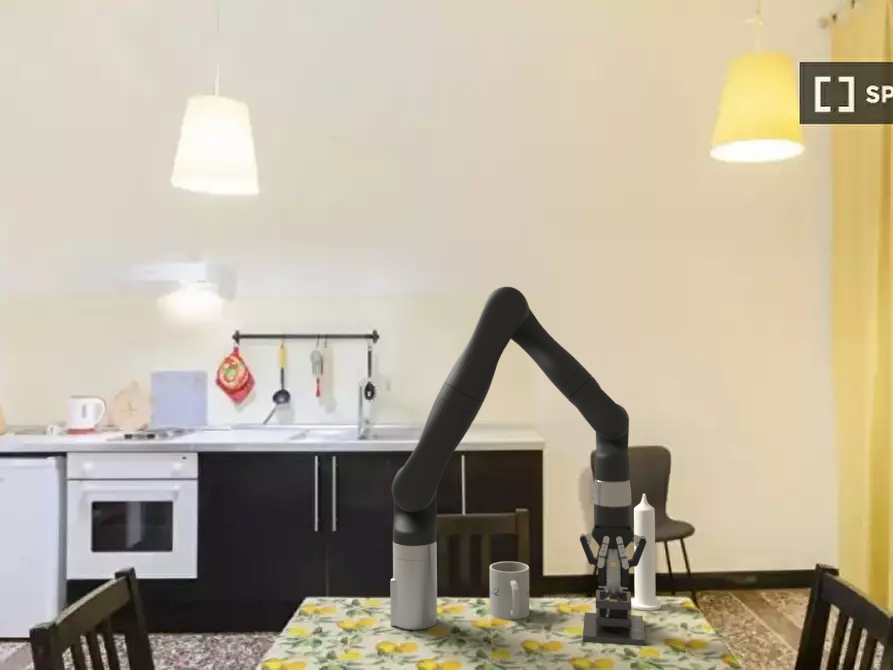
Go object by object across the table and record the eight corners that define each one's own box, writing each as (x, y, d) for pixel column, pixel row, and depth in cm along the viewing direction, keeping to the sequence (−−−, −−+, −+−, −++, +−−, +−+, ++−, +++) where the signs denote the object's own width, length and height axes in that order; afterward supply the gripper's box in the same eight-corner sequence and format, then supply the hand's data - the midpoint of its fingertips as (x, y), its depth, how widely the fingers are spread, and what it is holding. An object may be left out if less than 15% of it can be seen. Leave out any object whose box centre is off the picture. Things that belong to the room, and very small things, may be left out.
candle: (662, 611, 173) (661, 497, 174) (629, 609, 175) (628, 496, 175) (660, 601, 180) (659, 491, 181) (628, 599, 182) (627, 490, 182)
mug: (490, 605, 178) (490, 561, 178) (529, 606, 177) (528, 561, 177) (488, 625, 166) (488, 577, 166) (529, 626, 165) (529, 578, 165)
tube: (604, 612, 164) (604, 544, 165) (622, 613, 164) (621, 545, 164) (604, 618, 161) (604, 549, 161) (623, 619, 160) (622, 550, 160)
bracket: (582, 640, 157) (582, 604, 157) (584, 617, 170) (584, 583, 170) (645, 645, 154) (645, 608, 154) (642, 620, 168) (642, 586, 168)
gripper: (647, 498, 165) (648, 582, 165) (578, 496, 168) (578, 578, 167) (648, 506, 158) (649, 593, 157) (576, 504, 160) (577, 589, 160)
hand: (613, 585), depth 162 cm, fingers closed on tube, 3 cm apart
